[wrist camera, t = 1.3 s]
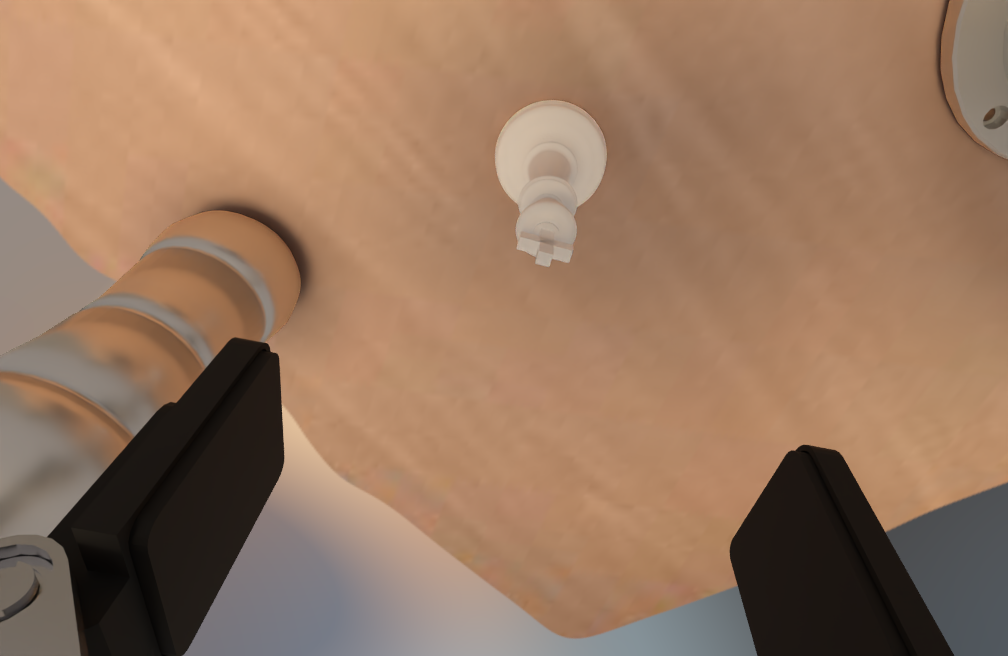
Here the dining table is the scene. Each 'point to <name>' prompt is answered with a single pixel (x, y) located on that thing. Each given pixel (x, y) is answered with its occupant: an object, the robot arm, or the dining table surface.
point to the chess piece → (549, 173)
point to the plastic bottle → (132, 358)
